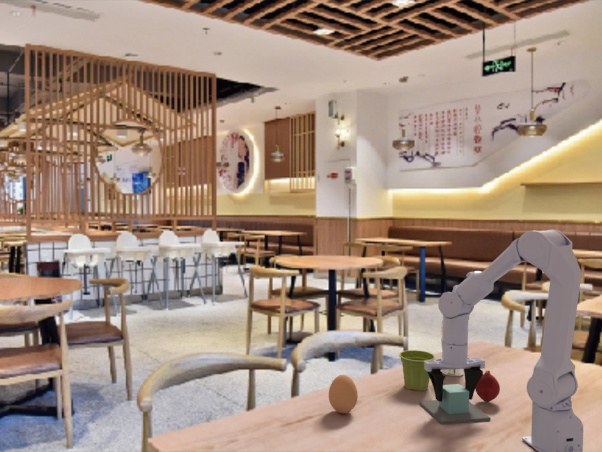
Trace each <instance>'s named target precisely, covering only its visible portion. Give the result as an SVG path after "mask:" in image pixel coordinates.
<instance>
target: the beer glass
mask: <svg viewBox="0 0 602 452" xmlns="http://www.w3.org/2000/svg"><path fill="white" fill-rule="evenodd" d="M440 343H441V347H442V346H443V320H442V321H441V330H440ZM441 372H442V374H443V375H444V376H449V377H462V376H463V375H464V369H448V370H441Z"/></svg>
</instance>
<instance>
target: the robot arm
mask: <svg viewBox="0 0 602 452" xmlns="http://www.w3.org/2000/svg"><path fill="white" fill-rule="evenodd" d="M524 262H527V263H530V265H532V266H534V267H536V268H538V269H539V270H540V271H542V272H543V274H544V275H545V276H546V277H547V279H549V288H548V296H547V304H546V311H545V319H544V329H543V336H542V343H541V352H540V356H539V358H538V360H537V362H536V363H535V365H534V367H533V372H532V375H531V377H530V378H529V379H528V380H527V383H526V392H527V395H528V397H529V398H530V400H531V401H532V404H531V405H532V406H531V407H532V408H531V432H530V433H531V435H529V436H522V437H521V440H522V441H523V442H525V444H527V445H529V446H530V447H532V449H534V450H535V451H537V452H583V451H584V449H583V446H584V424H583V421H582V420H581V419H580V418H579V416H577V415H576V414H575V412H574V410H573V402H572V397H573V396H574V395H575V394H576V392H577V391H578V385H579V384H578V380H577V378H576V377H577V376H576V372H575V371H576V365H575V364H574V362H573V361H572V359H571V358H572V357H571V356H572V349H573V341H574V335H575V334H574V333H575V325H576V318H577V311H578V303H579V296H580V288H581V280H582V270H581V268H580V265H579V263H578V260H577V257H576V256H575V253H574V250H573V241H572V240H570V239H569V238H568V237H567V236H566V235H565V234H564V233H563V232H562V231H560V230H558V229H546V230H528V231H526V232H524V233H523V234H521V235H520V237H519V238H516V239H514V240H513V241H512V242H511V243H510V245H509V246H508V247H506V249H505V250H504V251H503V252H501V254H499V256H497V257H496V258H495V259H494V260H493V261H492V262H491V263H489V265H488V266H487V267H486V268H484V270H483V271H481V270H475V271H469V272H467V274H466V275H465V276H466V278H464V280H463V281H462V282H460V283H459V284H456V285H453V287H452V291H451V292H450V291H446V292H443V293H442V294H441V296H440V297H439V299H438V303H437V304H438V309H439V312H440V313H441V315H442V321H443V346H442V345H441V351H442V353H441V354H442V355H441V357H440V358H435V359H434V360H430V361H424V369H425V370H426V371H427V373H428V375H429V377H430V378H429V380H430V382H431V384H432V388H433V392H434V397H435V400H438V401H439V402H442V399H443V385H444V382H445V379H446V375H445V374H443V373H442V370H448V369H463V373H464V374H463V375H464V388H465V389H467V390H468V391H469V401H471V400H473V397H474V393H475V392H476V390H475V388H476V386H477V384H478V382H479V380H480V378H481V377H482V376H483V374H484V371H483V370H482V369H485V368H486V360H485V359H483V358H481V357H475V358H474V357H468V356H469V355H468V352H469V351H468V349H469V347H468V346H469V343H468V342H469V321H470V315H471V313H472V312H473V311H474V308H475V306H476V305H477V304H478V303H479V302H481V301H482V300H483V299H484V298H486V297H487V296H488V295H489V294H491V293H492V292H493V291H494V285H495V282H496V281H498V280H499V279H500V278H502V277H503V276H505V275H506V274H507V273H508V272H510V271H512V270H513V269H514V268H516V267H517V266H518V265H519V264H521V263H524Z"/></svg>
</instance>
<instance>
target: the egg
mask: <svg viewBox="0 0 602 452" xmlns="http://www.w3.org/2000/svg"><path fill="white" fill-rule="evenodd" d="M328 400H329V403H330V406H331V407H332V409H334V411H335V412H336V413H338V414H343V415H344V414H347V413H350V412H352V410H353V409H354V408H355V407H356V405H357V404H358V403H357V402H358V389H357V386H356V383H355V382H354V380H353V379H352V378H351V377H350V376H349V375H346V374H340V375H338V376H336V377H335V378H334V379H333V380H332V382H331V384H330V386H329V389H328Z"/></svg>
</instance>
